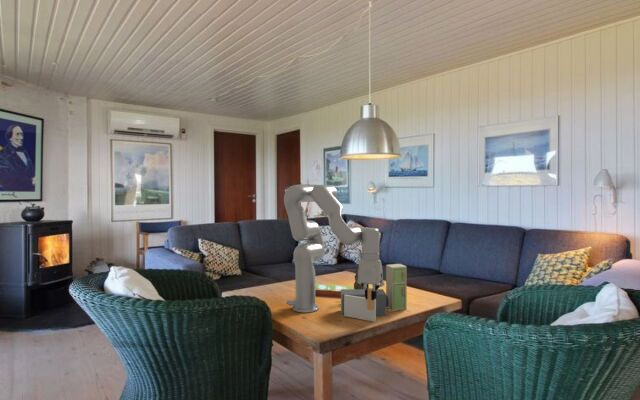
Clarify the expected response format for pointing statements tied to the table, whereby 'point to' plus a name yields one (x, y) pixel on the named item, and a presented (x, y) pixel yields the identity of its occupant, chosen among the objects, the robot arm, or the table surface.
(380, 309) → the grey toy microwave
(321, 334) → the table surface
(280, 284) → the table surface
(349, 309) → the side door
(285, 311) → the table surface
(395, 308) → the toy refrigerator
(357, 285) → the brown carved statuette
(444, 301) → the table surface
